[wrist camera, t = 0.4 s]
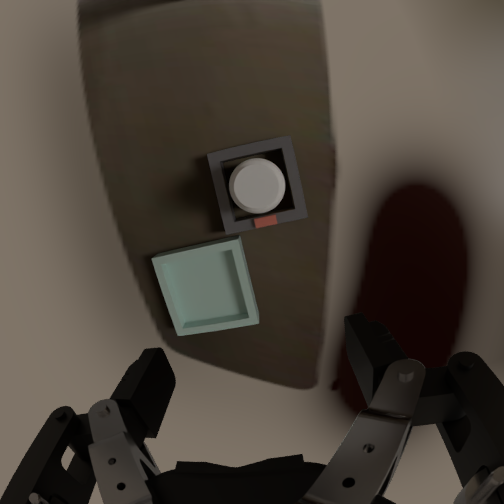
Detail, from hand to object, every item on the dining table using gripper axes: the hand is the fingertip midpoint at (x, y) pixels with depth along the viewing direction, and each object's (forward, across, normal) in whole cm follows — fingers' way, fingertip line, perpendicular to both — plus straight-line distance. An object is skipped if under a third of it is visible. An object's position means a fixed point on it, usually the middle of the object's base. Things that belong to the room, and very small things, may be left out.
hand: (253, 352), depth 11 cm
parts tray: (+24, +8, +5) cm, 26 cm away
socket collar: (+24, -1, -6) cm, 25 cm away
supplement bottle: (+24, -1, -6) cm, 25 cm away
